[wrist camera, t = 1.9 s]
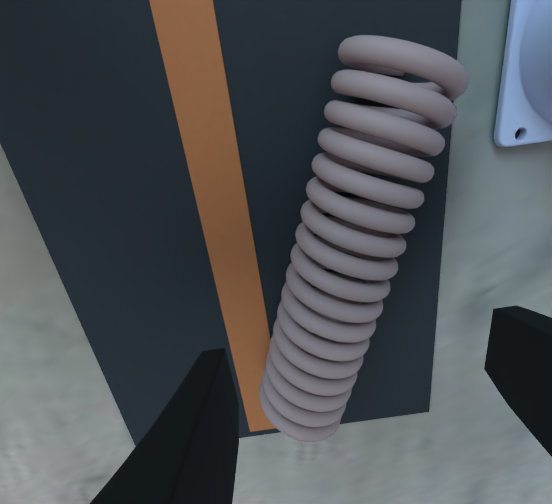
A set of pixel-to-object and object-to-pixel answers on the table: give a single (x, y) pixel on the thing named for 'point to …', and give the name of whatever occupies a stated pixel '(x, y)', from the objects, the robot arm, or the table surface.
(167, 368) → the mat
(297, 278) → the coil
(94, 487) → the table surface
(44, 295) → the table surface
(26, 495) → the table surface
